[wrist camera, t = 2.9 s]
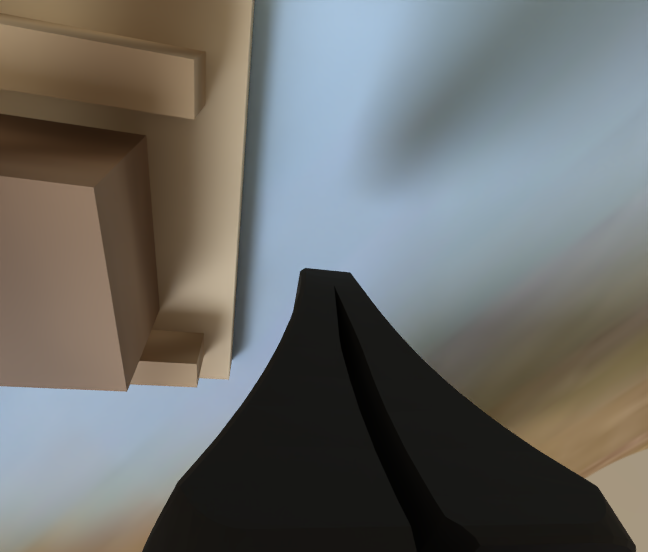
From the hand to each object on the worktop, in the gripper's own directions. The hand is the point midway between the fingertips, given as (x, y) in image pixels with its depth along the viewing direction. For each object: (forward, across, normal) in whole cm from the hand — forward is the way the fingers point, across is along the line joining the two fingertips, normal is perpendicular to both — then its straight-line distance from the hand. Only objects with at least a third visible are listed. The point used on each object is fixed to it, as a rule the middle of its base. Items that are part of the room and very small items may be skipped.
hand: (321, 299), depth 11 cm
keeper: (+3, +8, 0) cm, 8 cm away
